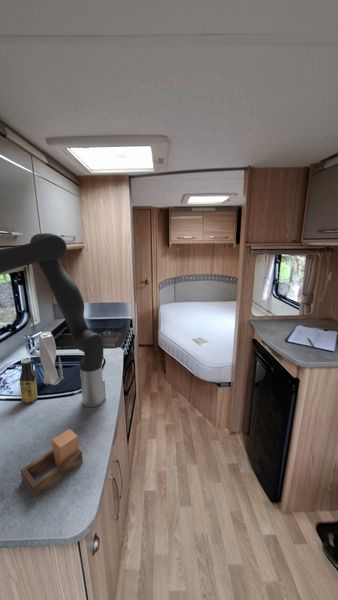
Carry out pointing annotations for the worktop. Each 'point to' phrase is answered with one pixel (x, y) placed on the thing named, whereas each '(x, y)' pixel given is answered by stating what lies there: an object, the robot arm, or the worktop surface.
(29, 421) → the worktop surface
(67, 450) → the block
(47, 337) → the skyscraper
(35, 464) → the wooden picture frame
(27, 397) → the sauce bottle
